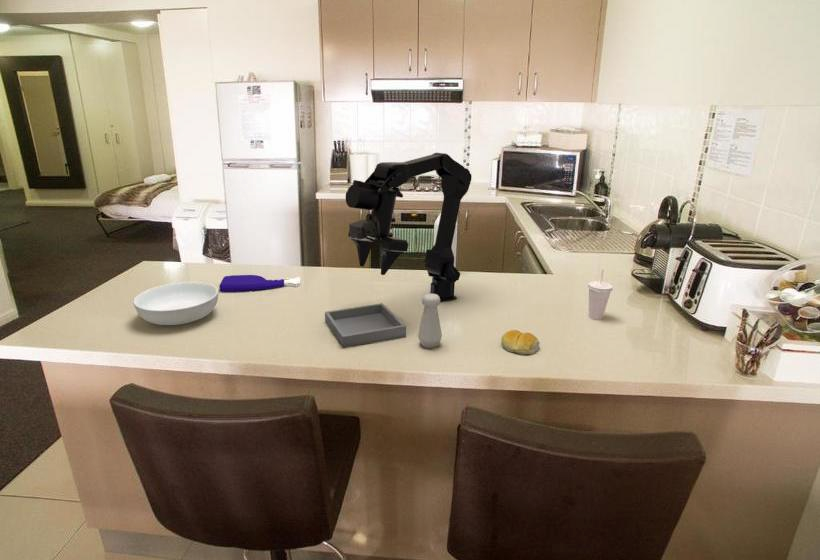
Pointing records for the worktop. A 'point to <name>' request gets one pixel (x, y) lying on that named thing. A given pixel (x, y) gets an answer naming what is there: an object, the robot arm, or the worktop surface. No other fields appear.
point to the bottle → (454, 243)
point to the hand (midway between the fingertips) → (371, 270)
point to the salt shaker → (430, 322)
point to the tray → (364, 325)
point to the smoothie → (598, 298)
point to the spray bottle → (254, 283)
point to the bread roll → (520, 342)
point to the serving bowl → (176, 302)
